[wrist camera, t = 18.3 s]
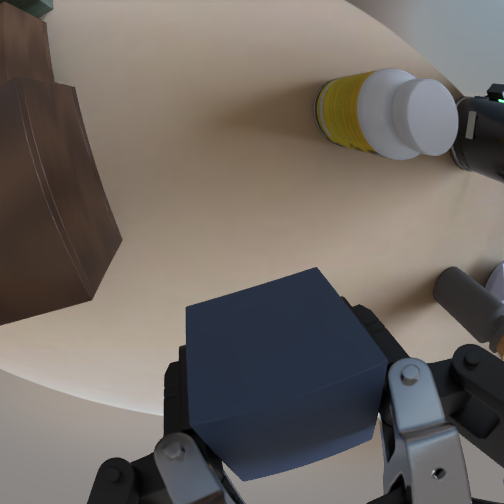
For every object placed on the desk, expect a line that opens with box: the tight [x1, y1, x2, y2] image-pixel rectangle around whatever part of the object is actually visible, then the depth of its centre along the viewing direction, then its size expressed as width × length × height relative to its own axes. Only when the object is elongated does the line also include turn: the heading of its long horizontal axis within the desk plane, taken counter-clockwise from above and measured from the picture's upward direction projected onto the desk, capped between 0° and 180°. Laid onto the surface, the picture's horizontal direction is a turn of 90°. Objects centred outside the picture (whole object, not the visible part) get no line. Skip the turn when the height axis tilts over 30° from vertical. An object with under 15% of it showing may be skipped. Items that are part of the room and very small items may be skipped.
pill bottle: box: [314, 68, 458, 160], centre depth 18 cm, size 6×6×12 cm
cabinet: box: [0, 76, 122, 325], centre depth 16 cm, size 15×13×10 cm
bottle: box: [434, 267, 504, 360], centre depth 29 cm, size 6×6×15 cm
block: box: [186, 267, 388, 481], centre depth 9 cm, size 5×5×5 cm
